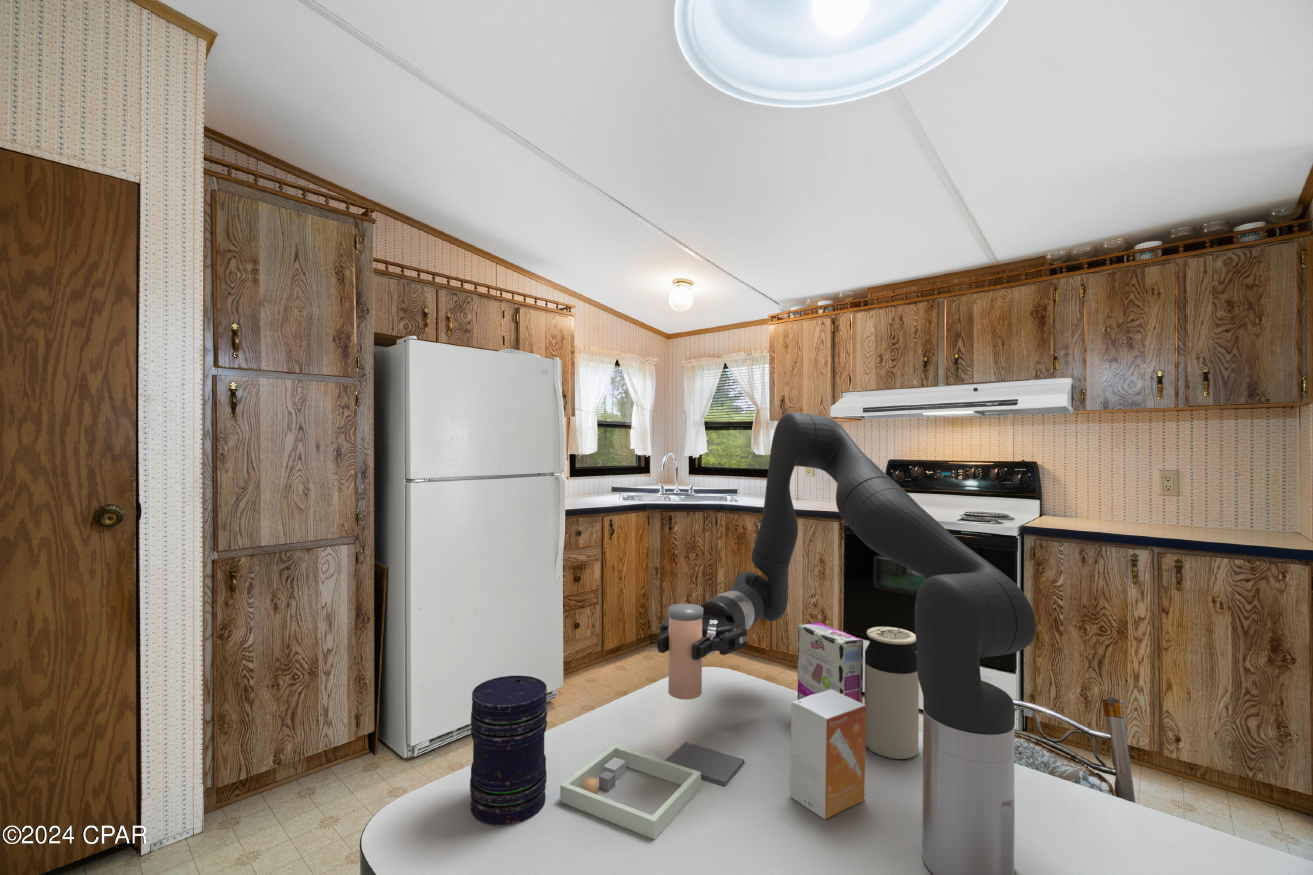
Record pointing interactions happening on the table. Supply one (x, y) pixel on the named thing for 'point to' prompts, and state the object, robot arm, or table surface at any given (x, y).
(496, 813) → the dark blue barrel
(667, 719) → the table surface
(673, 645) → the canister
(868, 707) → the travel mug
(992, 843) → the robot arm
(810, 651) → the candy bar box
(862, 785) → the small box
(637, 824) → the parts tub
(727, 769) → the mat
